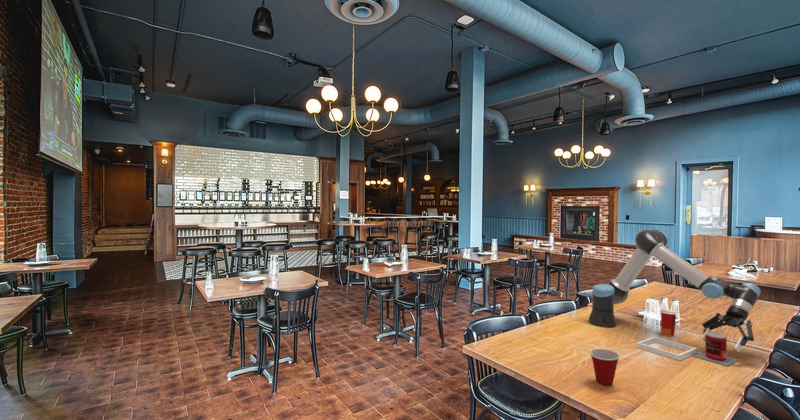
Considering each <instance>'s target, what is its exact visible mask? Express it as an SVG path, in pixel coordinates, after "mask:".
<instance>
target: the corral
mask: <svg viewBox="0 0 800 420" xmlns="http://www.w3.org/2000/svg"><path fill="white" fill-rule="evenodd" d="M654 343H657V344H661V345H664V346H668V347H672V348H675V349H679V350H682V351H683V352H681V353H675V352H671V351H667V350H665V349H661V348H658V347H654V346H652V345H651V344H654ZM650 345H651V346H650ZM636 348H637V349H640V350H644V351H646V352H650V353H652V354H656V355H659V356H663V357H666V358H669V359H673V360H675V361H679V362H681V361H683V360H685V359H688V358H690V357H692V356H694V355H696V354H698V348H697V347H694V346H690V345H687V344H684V343H679V342H676V341H671V340H670V339H665V338H661V337H659V336H658V337H657V336H652V337H650V338H649V337H648V338H647V339H644V340H640V341H637V342H636Z"/></svg>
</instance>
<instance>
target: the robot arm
mask: <svg viewBox="0 0 800 420" xmlns="http://www.w3.org/2000/svg"><path fill="white" fill-rule="evenodd" d="M634 240H635V246H636V247H635V248H636V249H635V250H634V252H633V254H632V255H631V256H630V258H629V259H628V261H627V262H626V264H625V265H624V266H623V268H622V269H621V270H620V272H619V273H618V275H617V276H616V277H615V278H612V279H611V280H610V281H609V283H607V284H606V283H601V284H599V283H598V284H595V285H593V286H592V292H591V293H592V300H591V301H592V306H591V308H592V309H591V312H590V315H589V316H588V317H589V318H588V323H589V324H591V325H593V326H597V327H603V328H616V327H617V324H618V321H617V319H616V315H615V312H614V309H615V305H618V304H622V303H623V302H625V301H626V300H627V299H628V298H629V293H630V291H631V289H630V286H631V285H632V284H633V283H634V282H635V280H636V278H637V277H638V275H639V274H640V273H641V272H642V270H643V269H644V268H645V266H646V265H647V263H649V261H650V260H651V258H652V257H654V258H656V259H657V260H658V261H660V262H661V263H662V264H664V265H665V266H666V267H668V268H670V269H671V270H672V271H674V272H675V273H677V274H678V275H680V276H681V277H682V278H683V279H684V280H687V282H689V283H690V284H692V285H694V286H695V287H696V288H698V289H699V290H700V291H701V292H702V294H703V295H704V296H705V297H706V298H709V299H712V300H713V299H714V300H715V299H720V298H721V297H727V298H730V299H733V300H732V301H731V303H730V304H729V307H728V308H727V310H726V311H725V312H726V313H725V314H724V315H722V314H721V313H719V312H717V313H716V314H715V315H714V316H712V317H711V318H710V319H708V320H706V321H705V322H703V323H702V325H701V326H702V327H703V328H704V330H703V332H702V334H703V335H702V337H701V339H702V341H703V342H704V343H706V332H712V330H715V329H718V328H721V327H722V326H723V327H725V326H728V327H732V328H738V329H737V330H739V332H740V334H741V336H740V337H739V339H737V340H738V341H737V342H736V345H735V346H734V349H735V351H736V352H738V353H740V351H741V349H742V348H743V347H745V346H746V344H747V342H749V341H751V342H755V339H754V334H753V328H752V327H753V323H752V321H751V320H750V319H748V317H749V314H750V313H751V311H752V310H753V308H754V306H755V304H756V303H757V301H758V299H759V297H760V295H761V292H762V291H761V288H760V287H759V286H757V285H756V284H753V283H750V282H749V283H748V282H744V283H742V284H737V283H734V282H732V281H731V282H730V281H727V280H724V279H721V278H718V277H714V276H713V277H710V276H708V275H707V274H706V273H704V272H703V271H701V269H699V268H697V267H695V266H694V265H692V264H691V263H689V262H688V261H687V260H685V259H683V258H682V257H681V256H679V255H678V254H676V253H675V252H674V251H672V250H670V249H669V248H668V247H667V245H668V243H669V237H668V235H667V234H666V233H665V232H664V231H662V230H660V229H644V230H642V231H641V230H640V231H639V232H638V233H637V234H636V236H635V239H634ZM747 319H748V320H747ZM743 325H745V326H746V331H747V334H746V333H745V331H744V329H743V327H742V326H743Z"/></svg>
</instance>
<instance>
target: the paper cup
mask: <svg viewBox="0 0 800 420" xmlns="http://www.w3.org/2000/svg"><path fill="white" fill-rule="evenodd" d="M677 314H678V313H677V312H676V310H674V309H671V308H661V310H660V323H661V334H662V335H663V336H665V337H674V336H675V327H676V321H677V320H676V319H677V318H676V316H677Z"/></svg>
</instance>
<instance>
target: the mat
mask: <svg viewBox="0 0 800 420" xmlns="http://www.w3.org/2000/svg"><path fill="white" fill-rule="evenodd" d="M692 356H693V357H694V358H697V359H700V360H703V361H707V362H711V363H714V364H717V365H720V366H723V367H726V368H727V367H730V366H732V365H733V364H735V362H736V363H737V362H739V359H736V358H733V357H729V356H726V360H724V361H719V360H714V359H711V358H708V357H707V356H706V354H705V350H703V351H701V352H697V354H694V355H692Z"/></svg>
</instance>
